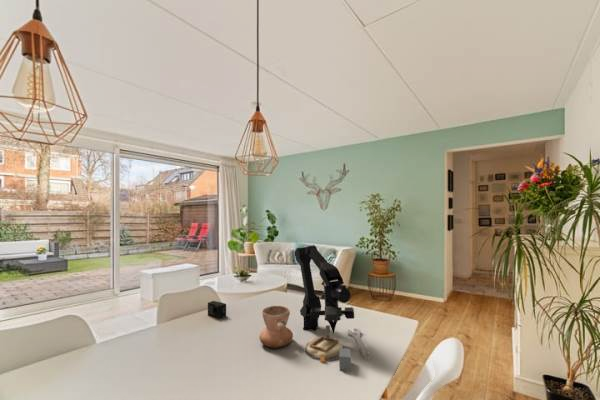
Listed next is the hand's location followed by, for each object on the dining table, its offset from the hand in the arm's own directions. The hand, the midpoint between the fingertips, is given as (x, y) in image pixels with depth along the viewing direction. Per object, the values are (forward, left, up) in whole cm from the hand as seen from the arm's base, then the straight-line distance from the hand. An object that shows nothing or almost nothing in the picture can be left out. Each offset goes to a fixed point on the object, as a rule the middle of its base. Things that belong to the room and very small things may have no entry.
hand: (333, 333), depth 118 cm
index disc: (-3, -7, -4) cm, 9 cm away
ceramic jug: (-25, -3, -4) cm, 26 cm away
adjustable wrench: (+10, +1, -5) cm, 11 cm away
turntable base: (-3, -7, -4) cm, 9 cm away
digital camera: (-66, +23, -4) cm, 70 cm away
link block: (+5, -17, -4) cm, 19 cm away
